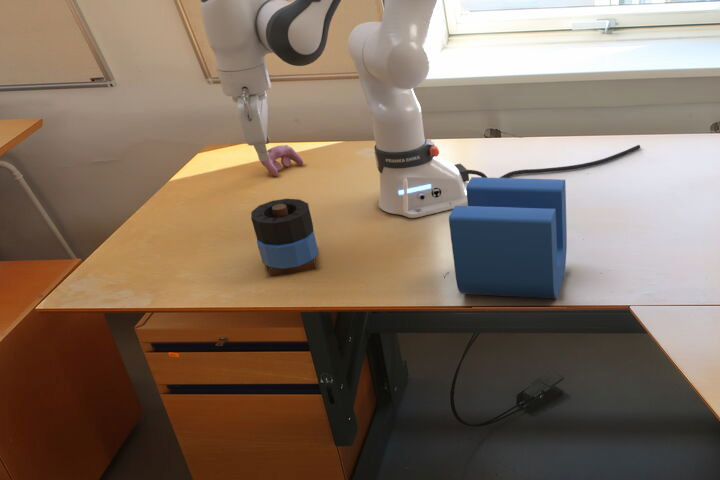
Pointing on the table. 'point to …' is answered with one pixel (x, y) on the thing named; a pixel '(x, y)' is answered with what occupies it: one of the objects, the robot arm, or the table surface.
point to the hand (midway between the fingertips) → (264, 151)
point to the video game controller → (285, 155)
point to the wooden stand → (281, 211)
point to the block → (510, 237)
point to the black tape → (282, 222)
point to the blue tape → (289, 253)
